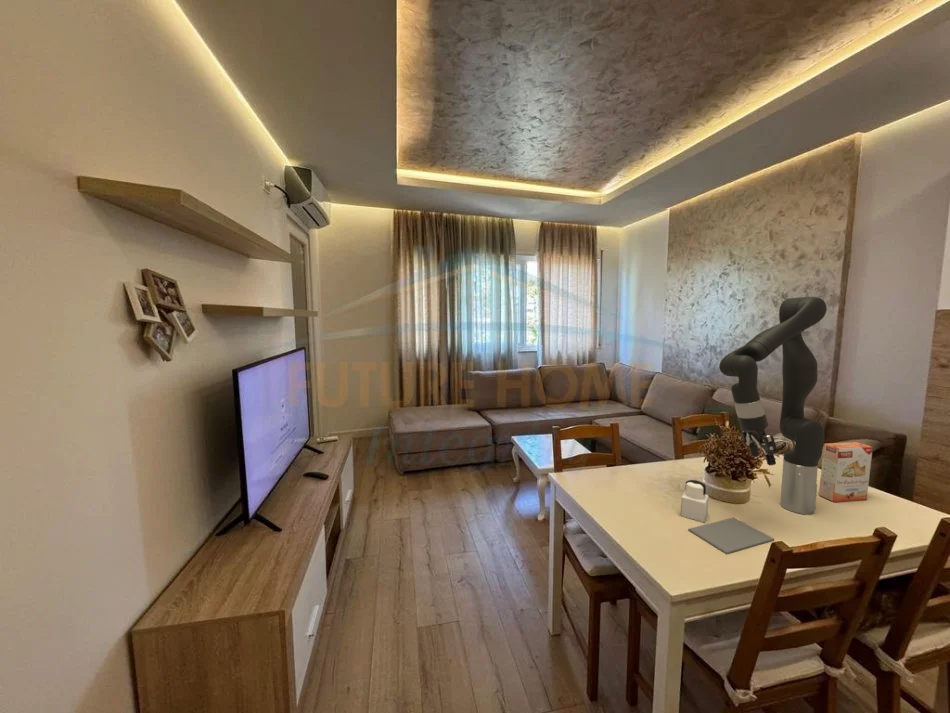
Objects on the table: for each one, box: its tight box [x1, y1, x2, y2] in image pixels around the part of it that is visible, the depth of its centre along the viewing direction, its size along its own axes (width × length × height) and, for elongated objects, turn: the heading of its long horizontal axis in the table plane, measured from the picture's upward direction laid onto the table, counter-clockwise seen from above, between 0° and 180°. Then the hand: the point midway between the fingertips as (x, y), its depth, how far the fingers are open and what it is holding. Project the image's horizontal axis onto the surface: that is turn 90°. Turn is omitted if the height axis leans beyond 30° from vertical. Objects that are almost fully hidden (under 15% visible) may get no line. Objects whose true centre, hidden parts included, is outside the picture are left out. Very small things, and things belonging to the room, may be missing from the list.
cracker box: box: [818, 441, 874, 503], centre depth 138 cm, size 14×6×21 cm, turn 95°
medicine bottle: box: [680, 479, 709, 523], centre depth 129 cm, size 7×7×12 cm
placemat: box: [688, 517, 775, 555], centre depth 117 cm, size 20×13×1 cm, turn 108°
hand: (763, 460), depth 122 cm, fingers open, 8 cm apart
